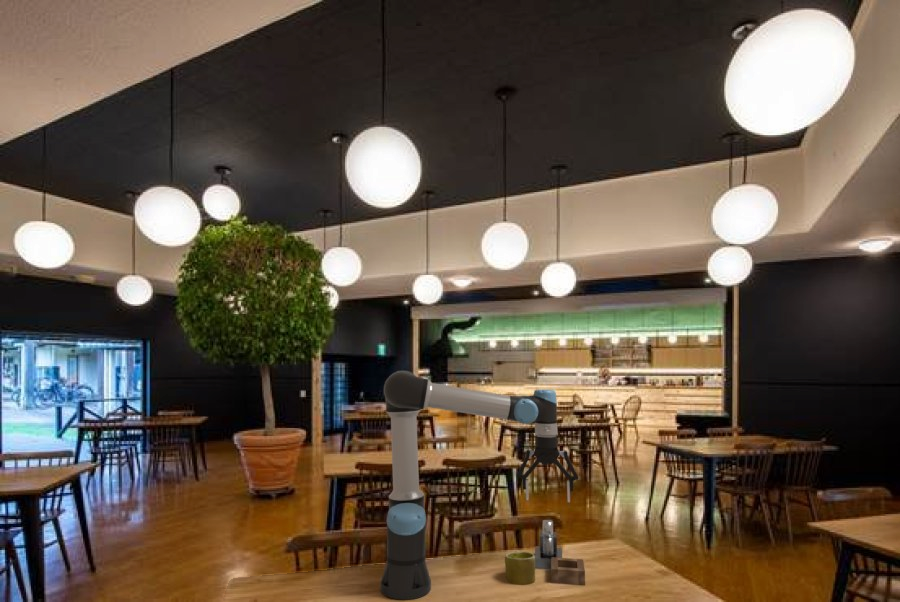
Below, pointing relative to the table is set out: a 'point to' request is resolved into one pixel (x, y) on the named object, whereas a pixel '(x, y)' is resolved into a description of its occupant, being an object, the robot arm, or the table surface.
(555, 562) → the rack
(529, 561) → the mug
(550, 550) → the brushed metal rod
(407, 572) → the robot arm
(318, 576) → the table surface
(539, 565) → the block
